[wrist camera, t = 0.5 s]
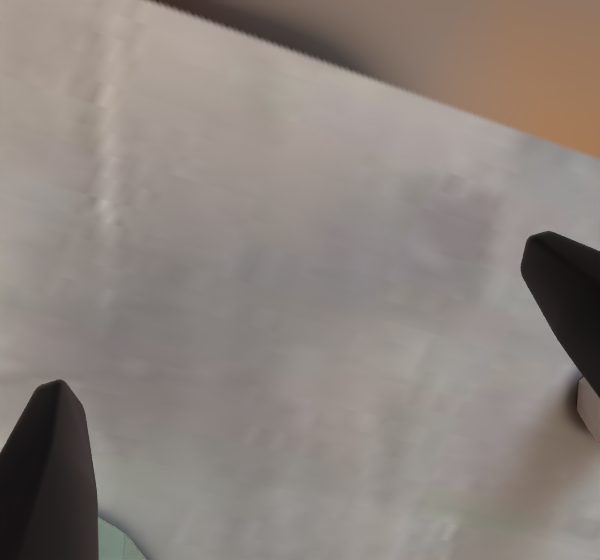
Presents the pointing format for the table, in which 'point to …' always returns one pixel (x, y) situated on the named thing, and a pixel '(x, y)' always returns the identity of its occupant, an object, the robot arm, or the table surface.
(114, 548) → the bowl
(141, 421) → the table surface
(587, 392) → the salt shaker
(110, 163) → the table surface
